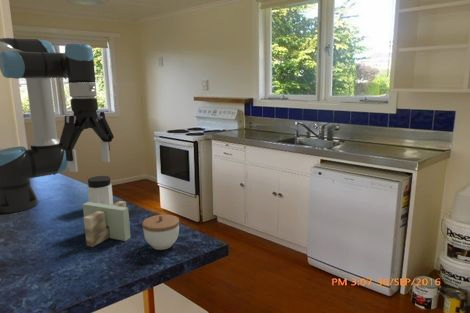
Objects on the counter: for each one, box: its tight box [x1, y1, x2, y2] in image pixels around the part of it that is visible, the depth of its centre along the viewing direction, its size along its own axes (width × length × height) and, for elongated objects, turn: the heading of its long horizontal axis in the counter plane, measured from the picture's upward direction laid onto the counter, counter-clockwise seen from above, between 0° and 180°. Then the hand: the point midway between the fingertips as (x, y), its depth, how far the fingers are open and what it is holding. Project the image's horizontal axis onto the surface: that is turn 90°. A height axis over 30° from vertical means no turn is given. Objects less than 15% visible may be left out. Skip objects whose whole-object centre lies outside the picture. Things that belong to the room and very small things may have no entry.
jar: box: [87, 175, 114, 205], centre depth 141 cm, size 9×8×12 cm
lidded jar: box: [142, 214, 180, 251], centre depth 108 cm, size 11×11×9 cm
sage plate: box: [82, 201, 131, 242], centre depth 116 cm, size 16×2×10 cm, turn 67°
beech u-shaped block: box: [83, 200, 127, 248], centre depth 116 cm, size 16×2×9 cm, turn 157°
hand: (90, 166), depth 114 cm, fingers open, 13 cm apart
